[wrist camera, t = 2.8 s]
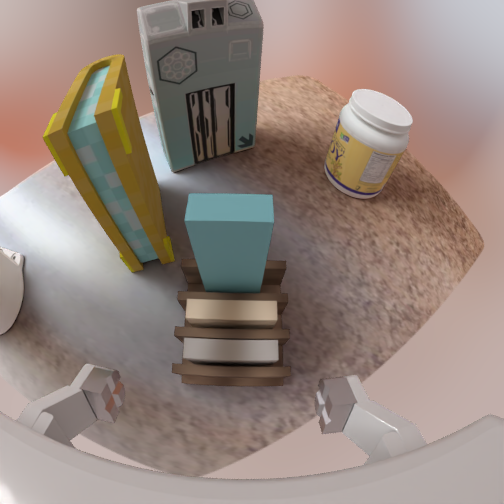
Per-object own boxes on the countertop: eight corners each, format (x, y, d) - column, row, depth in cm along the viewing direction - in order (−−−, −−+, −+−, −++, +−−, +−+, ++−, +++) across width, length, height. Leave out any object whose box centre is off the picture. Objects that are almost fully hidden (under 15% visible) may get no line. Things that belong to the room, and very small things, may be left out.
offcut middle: (196, 332, 32) (185, 317, 26) (197, 316, 33) (187, 298, 27) (269, 333, 32) (277, 320, 26) (269, 318, 33) (276, 300, 27)
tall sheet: (209, 303, 34) (184, 220, 18) (210, 285, 35) (189, 193, 19) (257, 304, 34) (274, 222, 18) (257, 286, 35) (272, 194, 19)
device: (172, 174, 46) (142, 12, 20) (163, 151, 49) (136, 8, 23) (255, 149, 50) (266, -2, 24) (238, 128, 53) (242, -7, 27)
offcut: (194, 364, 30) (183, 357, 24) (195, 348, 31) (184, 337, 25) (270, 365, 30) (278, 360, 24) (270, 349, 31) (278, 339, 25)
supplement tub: (316, 153, 50) (336, 80, 36) (369, 158, 51) (397, 94, 36) (331, 201, 45) (362, 121, 30) (389, 203, 45) (430, 136, 31)
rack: (183, 383, 30) (171, 382, 24) (192, 267, 38) (184, 243, 32) (281, 385, 30) (290, 385, 25) (277, 268, 38) (284, 245, 32)
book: (174, 261, 38) (117, 107, 16) (131, 272, 37) (42, 137, 15) (160, 179, 45) (129, 49, 23) (126, 189, 44) (80, 66, 22)
